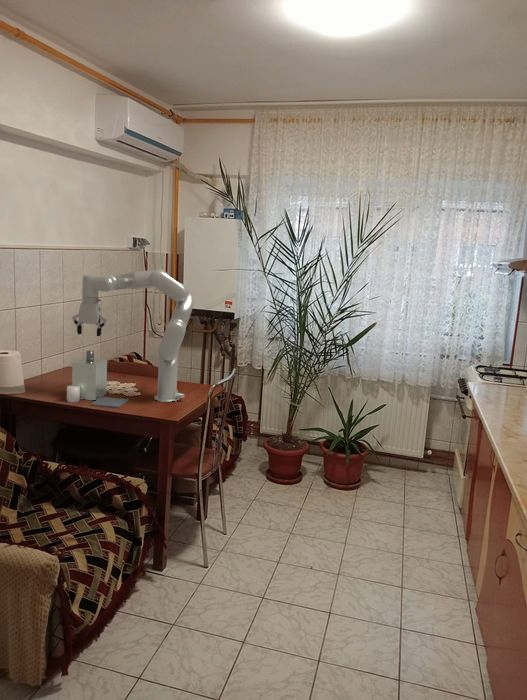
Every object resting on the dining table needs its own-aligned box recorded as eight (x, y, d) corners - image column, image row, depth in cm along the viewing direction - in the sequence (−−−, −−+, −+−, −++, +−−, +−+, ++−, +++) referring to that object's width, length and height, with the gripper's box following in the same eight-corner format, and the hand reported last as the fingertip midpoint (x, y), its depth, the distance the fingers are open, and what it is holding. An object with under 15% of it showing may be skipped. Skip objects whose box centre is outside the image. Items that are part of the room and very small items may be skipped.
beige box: (106, 394, 278) (107, 350, 274) (95, 400, 265) (96, 354, 261) (83, 392, 279) (84, 348, 275) (71, 398, 266) (72, 352, 262)
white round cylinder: (81, 399, 265) (81, 385, 264) (76, 402, 259) (77, 388, 258) (69, 398, 266) (69, 384, 265) (64, 401, 260) (64, 387, 259)
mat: (128, 400, 269) (128, 399, 269) (118, 408, 255) (118, 406, 255) (101, 398, 270) (101, 396, 270) (90, 405, 256) (90, 404, 256)
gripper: (110, 301, 266) (108, 335, 269) (76, 298, 268) (75, 332, 270) (104, 302, 259) (103, 337, 262) (69, 299, 260) (68, 334, 263)
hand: (89, 335), depth 266 cm, fingers open, 9 cm apart
